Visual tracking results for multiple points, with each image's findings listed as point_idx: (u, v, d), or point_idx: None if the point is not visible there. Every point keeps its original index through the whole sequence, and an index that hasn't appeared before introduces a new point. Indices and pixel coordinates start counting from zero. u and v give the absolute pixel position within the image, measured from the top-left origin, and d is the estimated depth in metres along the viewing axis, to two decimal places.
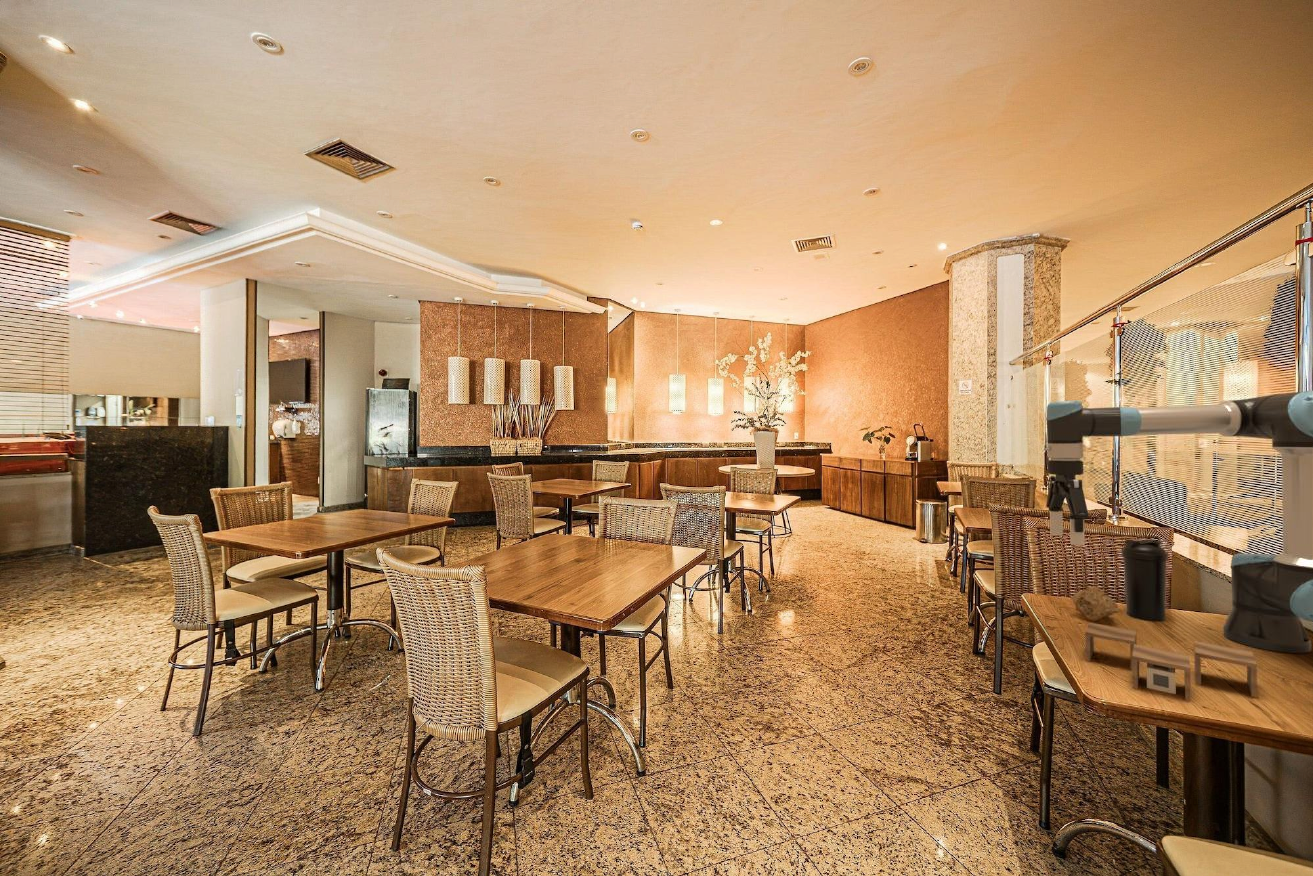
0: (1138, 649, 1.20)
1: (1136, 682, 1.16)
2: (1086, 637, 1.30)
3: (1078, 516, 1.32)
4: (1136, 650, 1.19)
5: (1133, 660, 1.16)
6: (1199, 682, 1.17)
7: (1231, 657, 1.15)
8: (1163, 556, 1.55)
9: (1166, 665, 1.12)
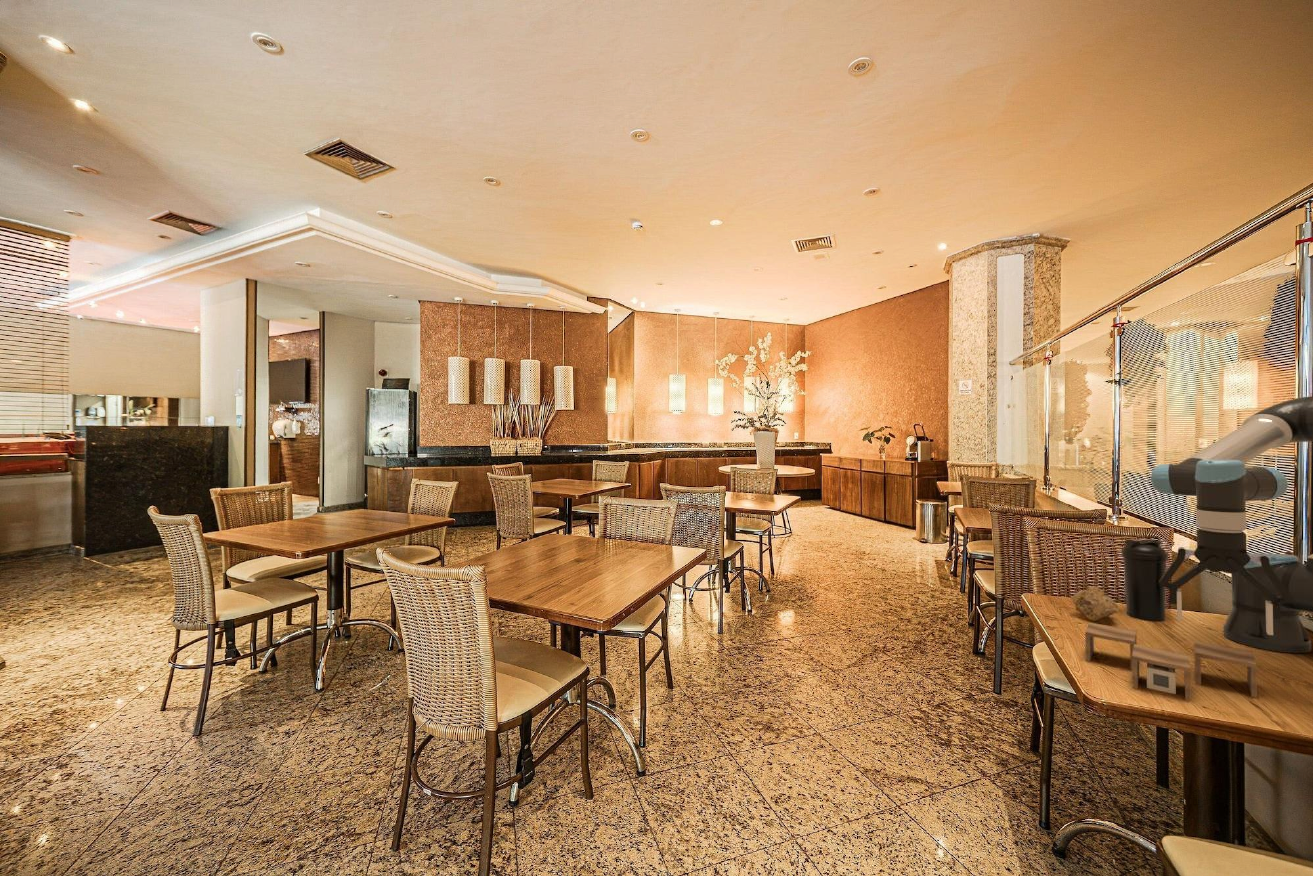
0: (1138, 649, 1.20)
1: (1136, 682, 1.16)
2: (1086, 637, 1.30)
3: None
4: (1136, 650, 1.19)
5: (1133, 660, 1.16)
6: (1199, 682, 1.17)
7: (1231, 657, 1.15)
8: (1163, 556, 1.55)
9: (1166, 665, 1.12)
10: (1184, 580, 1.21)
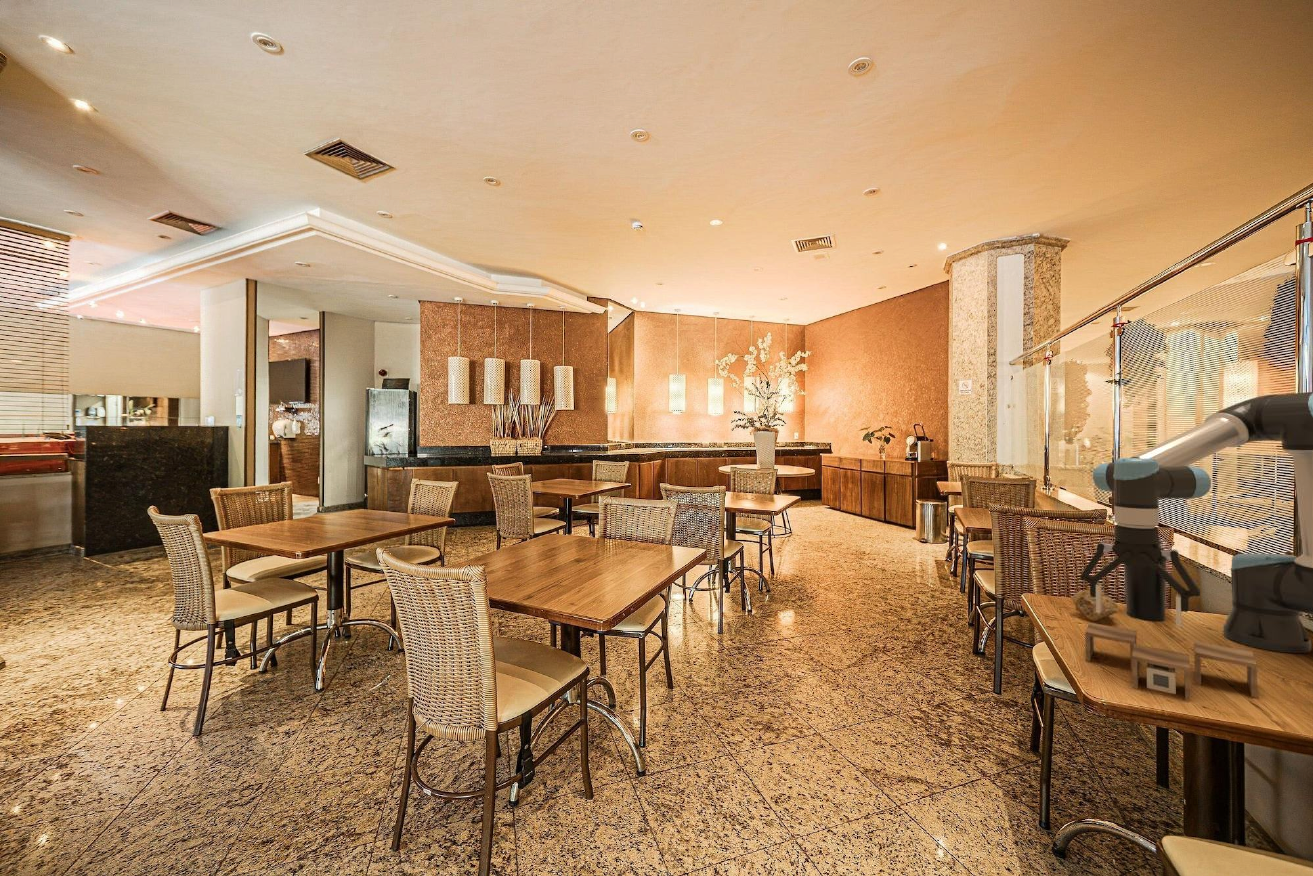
0: (1138, 649, 1.20)
1: (1136, 682, 1.16)
2: (1086, 637, 1.30)
3: None
4: (1136, 650, 1.19)
5: (1133, 660, 1.16)
6: (1199, 682, 1.17)
7: (1231, 657, 1.15)
8: (1163, 556, 1.55)
9: (1166, 665, 1.12)
10: (1102, 574, 1.25)
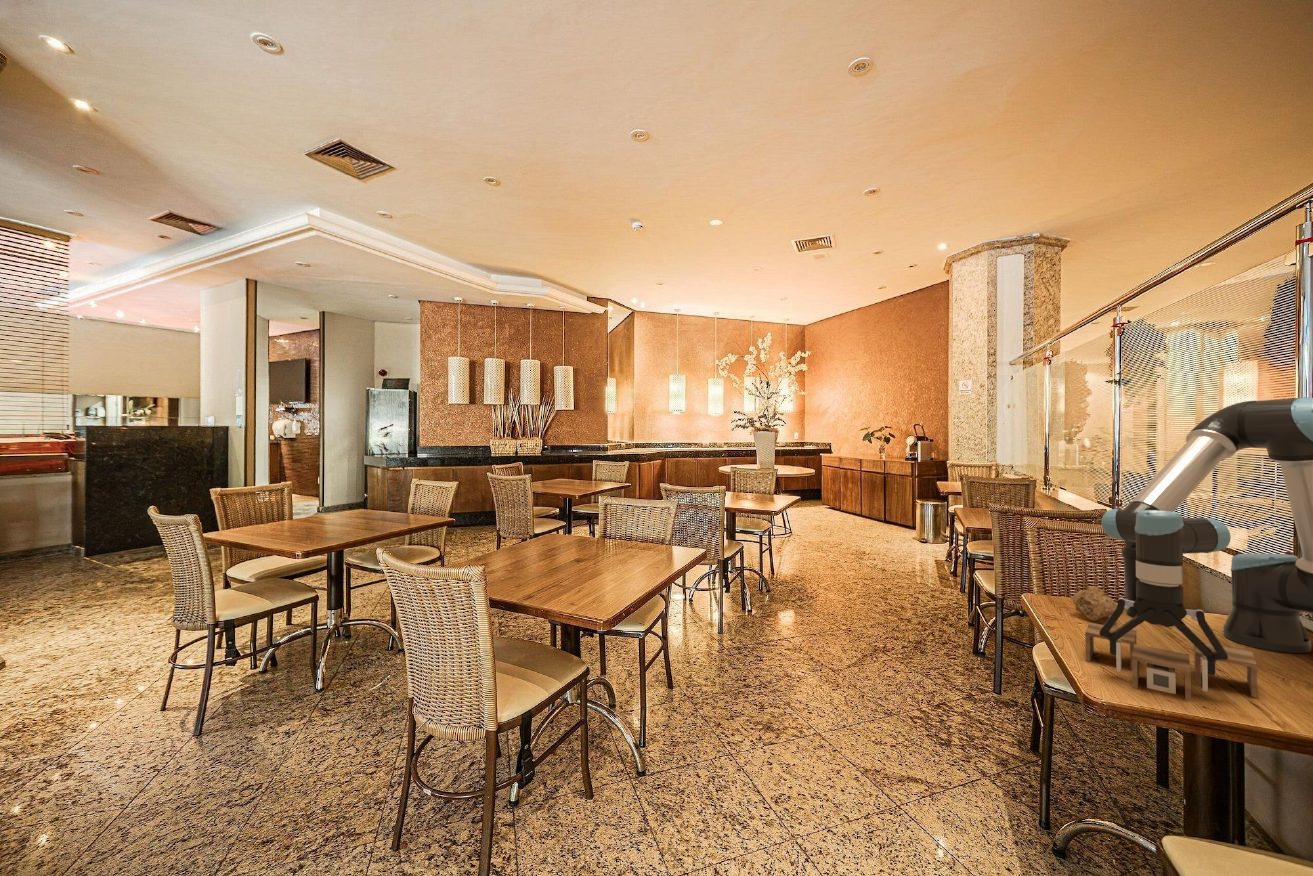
0: (1138, 649, 1.20)
1: (1136, 682, 1.16)
2: (1086, 637, 1.30)
3: None
4: (1136, 650, 1.19)
5: (1133, 660, 1.16)
6: (1199, 682, 1.17)
7: (1231, 657, 1.15)
8: None
9: (1166, 665, 1.12)
10: (1123, 632, 1.20)
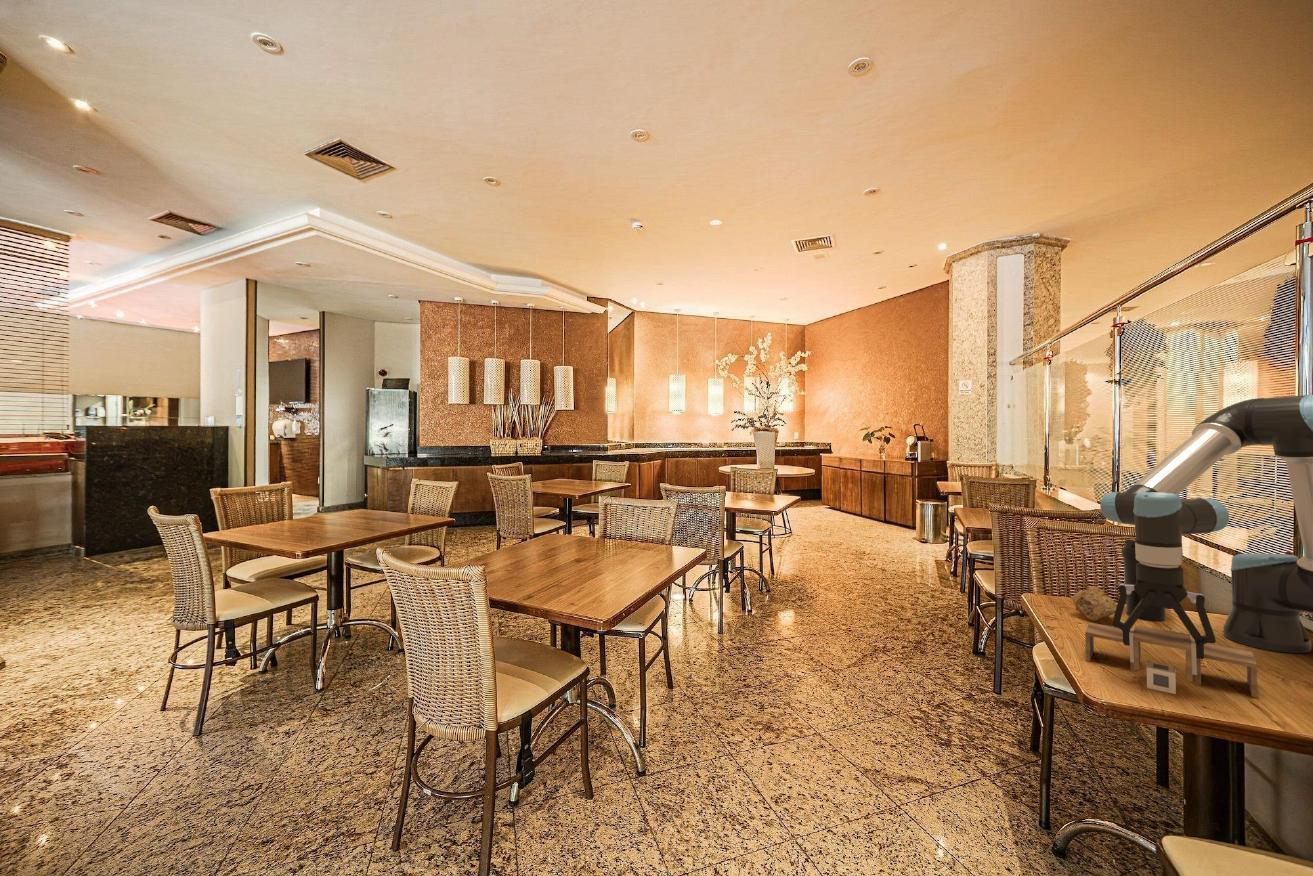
0: (1139, 630, 1.20)
1: (1137, 663, 1.16)
2: (1086, 637, 1.30)
3: None
4: (1137, 631, 1.19)
5: (1134, 641, 1.16)
6: (1199, 682, 1.17)
7: (1231, 657, 1.15)
8: None
9: (1167, 645, 1.13)
10: (1133, 620, 1.19)
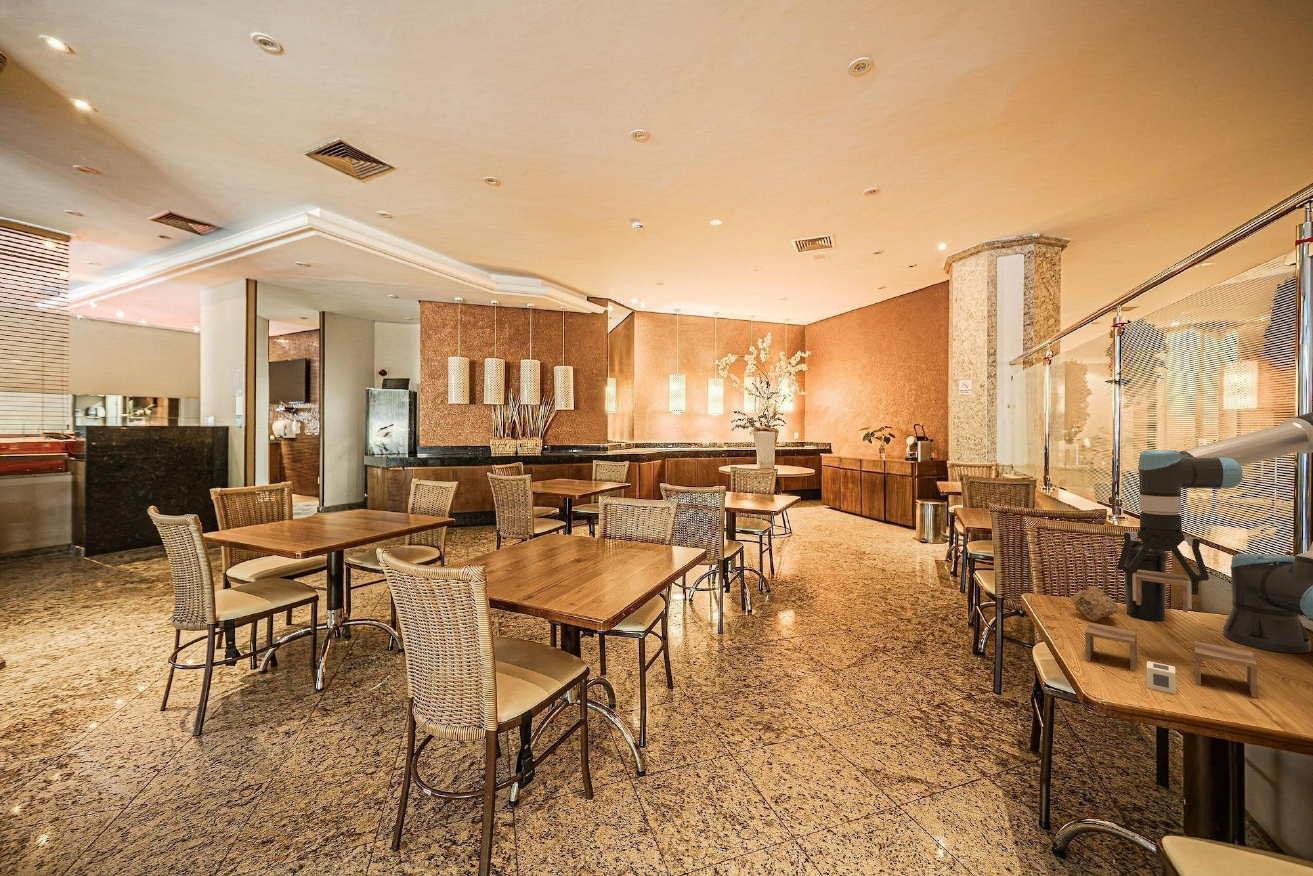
0: (1141, 572, 1.35)
1: (1139, 599, 1.31)
2: (1086, 637, 1.30)
3: None
4: (1139, 573, 1.35)
5: (1137, 580, 1.32)
6: (1199, 682, 1.17)
7: (1231, 657, 1.15)
8: (1163, 556, 1.55)
9: (1166, 582, 1.28)
10: (1136, 563, 1.34)
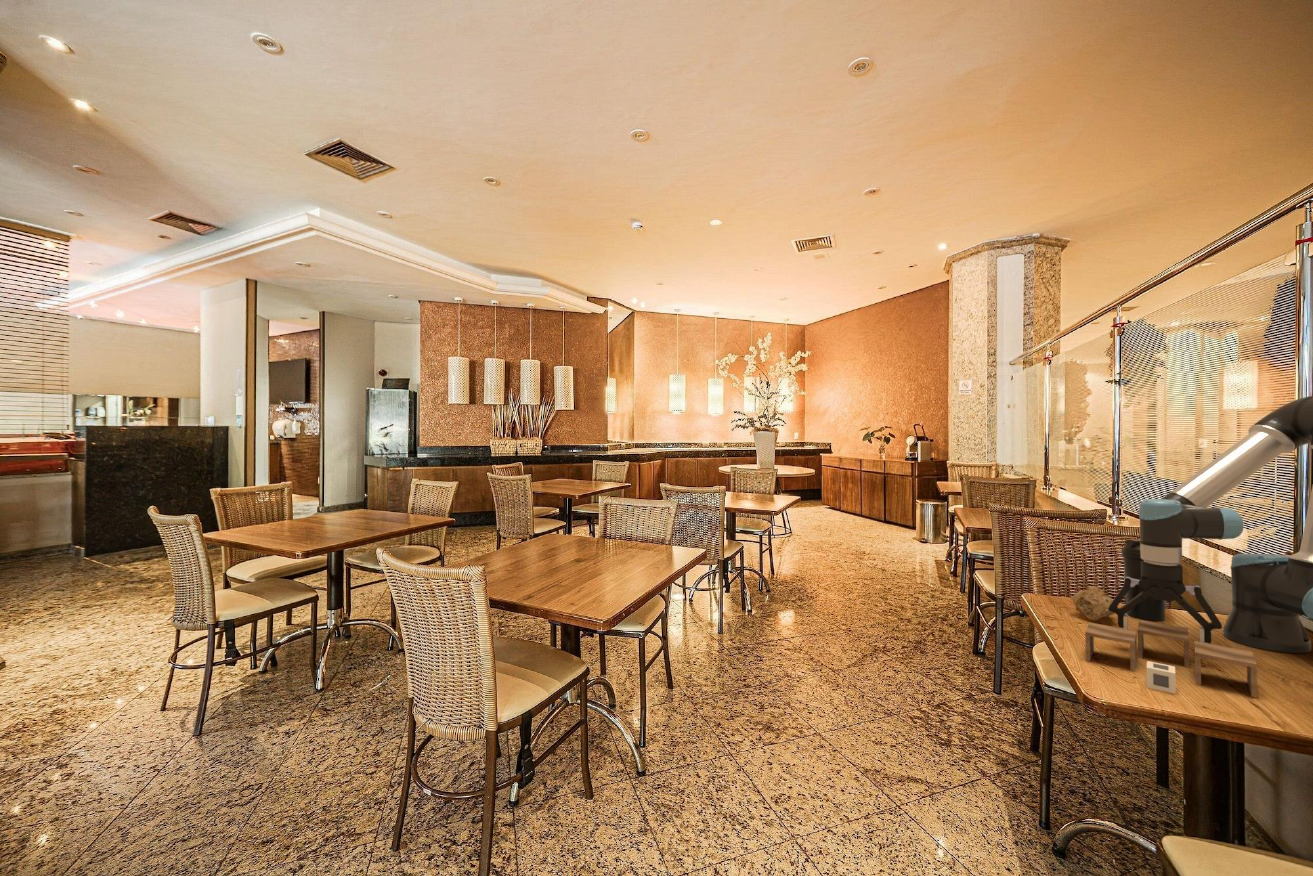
0: (1143, 624, 1.35)
1: (1141, 652, 1.31)
2: (1086, 637, 1.30)
3: None
4: (1141, 625, 1.35)
5: (1138, 633, 1.31)
6: (1199, 682, 1.17)
7: (1231, 657, 1.15)
8: None
9: (1168, 636, 1.28)
10: (1129, 607, 1.35)
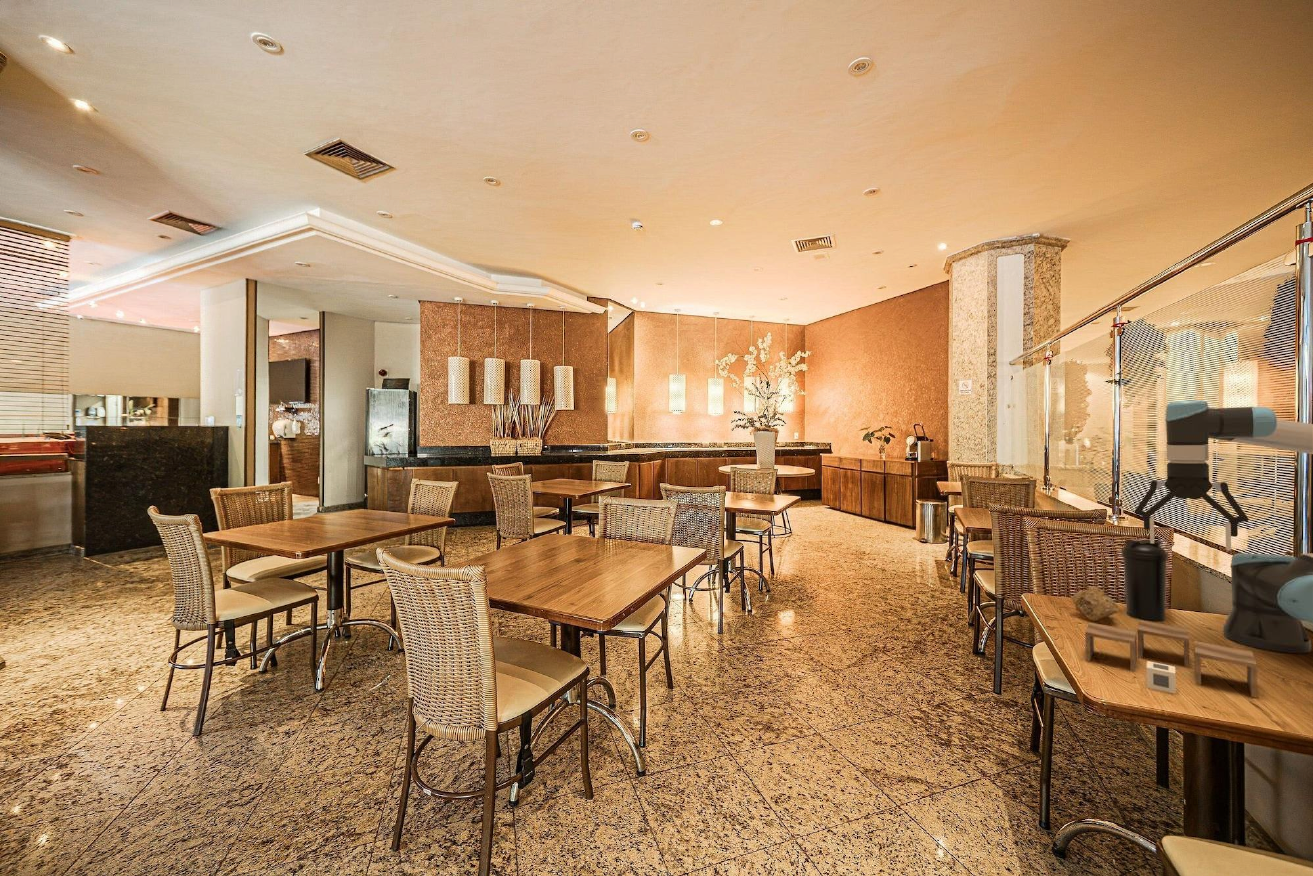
0: (1143, 624, 1.35)
1: (1141, 652, 1.31)
2: (1086, 637, 1.30)
3: None
4: (1141, 625, 1.35)
5: (1138, 633, 1.31)
6: (1199, 682, 1.17)
7: (1231, 657, 1.15)
8: (1163, 556, 1.55)
9: (1168, 636, 1.28)
10: (1156, 508, 1.38)
